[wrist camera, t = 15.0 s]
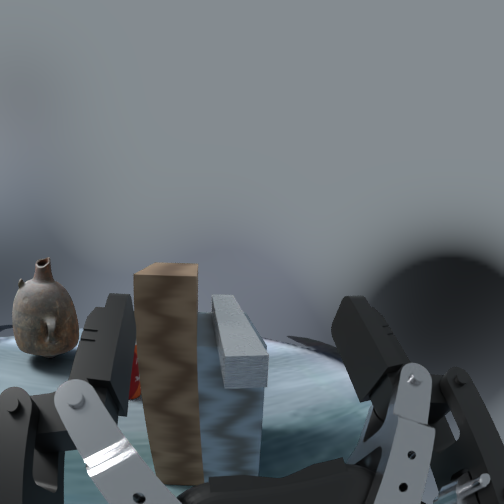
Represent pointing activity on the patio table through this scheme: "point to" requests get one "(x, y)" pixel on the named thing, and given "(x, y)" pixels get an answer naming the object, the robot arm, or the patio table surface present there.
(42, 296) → the jug
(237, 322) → the aluminium bar
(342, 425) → the patio table surface
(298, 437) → the patio table surface
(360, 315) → the robot arm
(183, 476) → the display riser
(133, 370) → the coffee cup
